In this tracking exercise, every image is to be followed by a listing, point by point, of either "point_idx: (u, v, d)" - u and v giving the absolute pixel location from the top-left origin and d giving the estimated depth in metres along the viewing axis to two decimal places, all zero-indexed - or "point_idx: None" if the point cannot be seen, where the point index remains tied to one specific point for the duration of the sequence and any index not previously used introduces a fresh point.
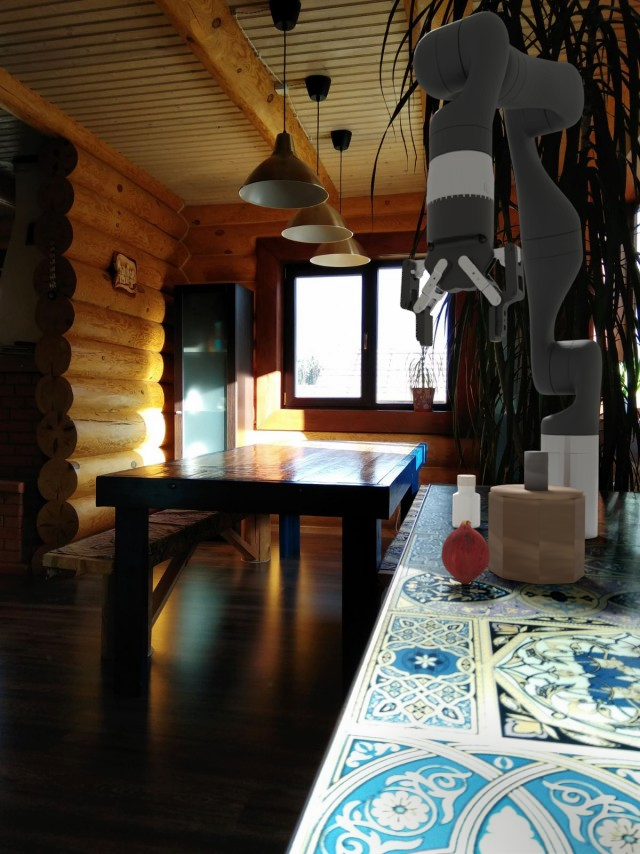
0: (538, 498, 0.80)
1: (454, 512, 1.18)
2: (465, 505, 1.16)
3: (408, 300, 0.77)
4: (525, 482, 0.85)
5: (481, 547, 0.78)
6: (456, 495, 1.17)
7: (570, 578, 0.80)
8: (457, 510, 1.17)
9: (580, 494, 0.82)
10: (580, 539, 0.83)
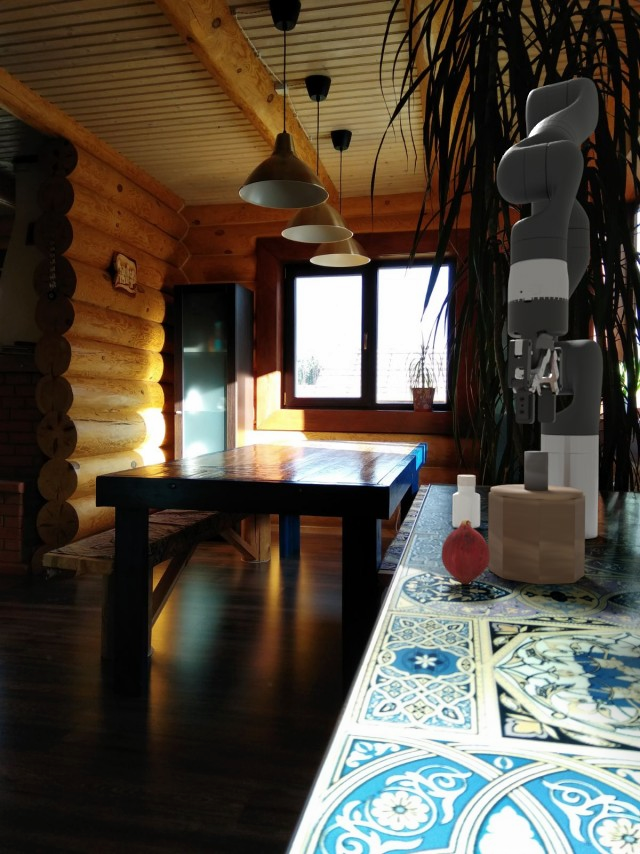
0: (538, 498, 0.80)
1: (454, 512, 1.18)
2: (465, 505, 1.16)
3: (529, 379, 0.80)
4: (525, 482, 0.85)
5: (481, 547, 0.78)
6: (456, 495, 1.17)
7: (570, 578, 0.80)
8: (457, 510, 1.17)
9: (580, 494, 0.82)
10: (580, 539, 0.83)
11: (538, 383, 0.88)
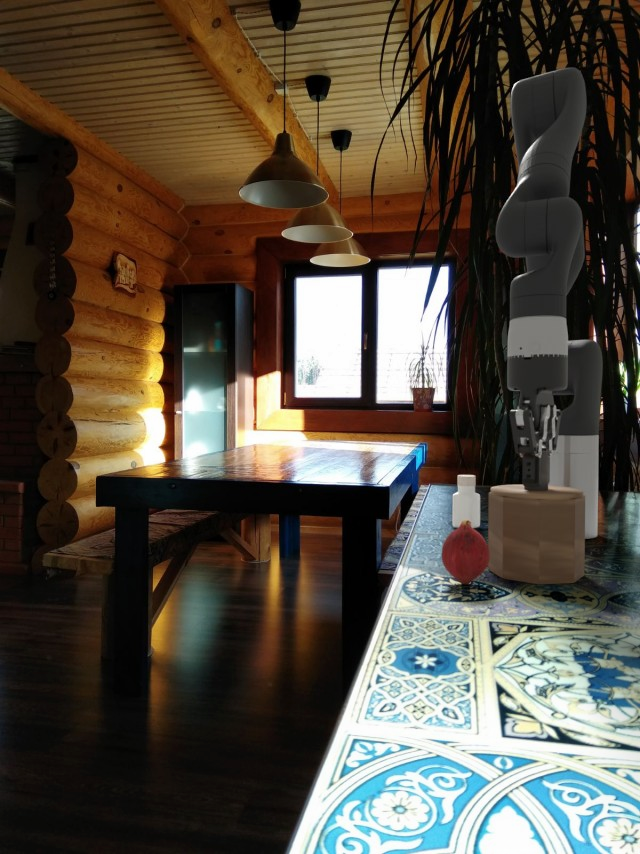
0: (538, 498, 0.80)
1: (454, 512, 1.18)
2: (465, 505, 1.16)
3: (536, 445, 0.82)
4: None
5: (481, 547, 0.78)
6: (456, 495, 1.17)
7: (570, 578, 0.80)
8: (457, 510, 1.17)
9: (580, 494, 0.82)
10: (580, 539, 0.83)
11: None
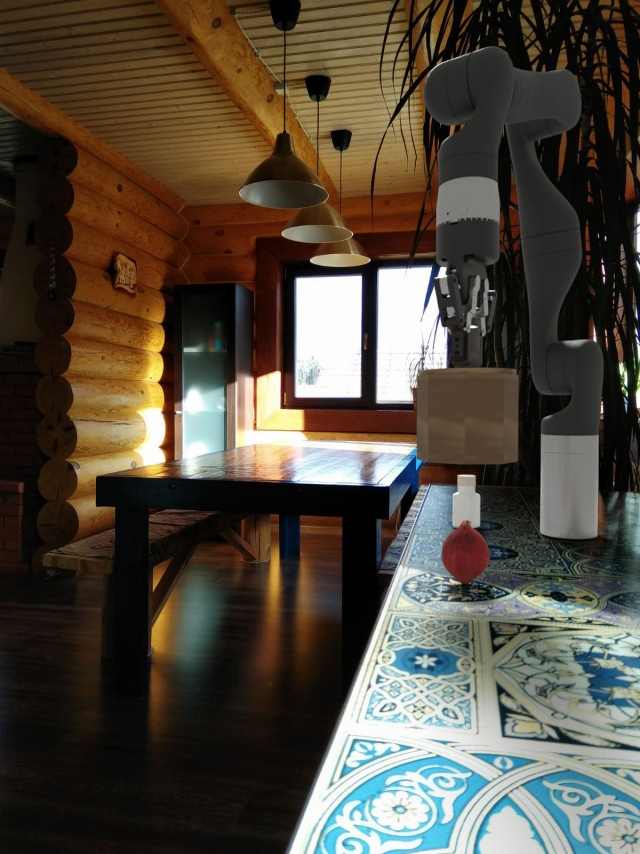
0: (464, 371, 0.74)
1: (454, 512, 1.18)
2: (465, 505, 1.16)
3: (463, 317, 0.76)
4: None
5: (481, 547, 0.78)
6: (456, 495, 1.17)
7: (499, 459, 0.74)
8: (457, 510, 1.17)
9: (511, 370, 0.75)
10: (512, 420, 0.76)
11: None
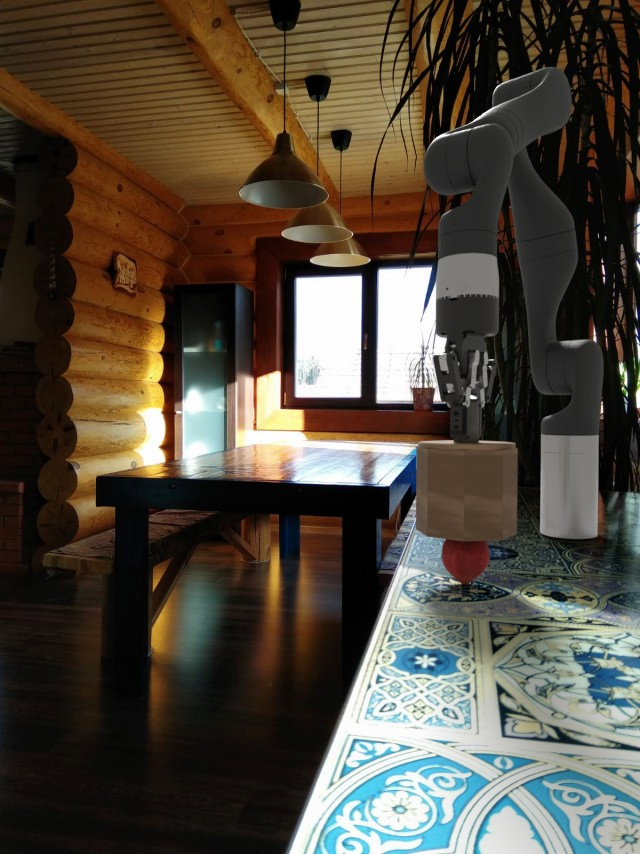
0: (463, 448, 0.74)
1: None
2: None
3: (463, 393, 0.76)
4: None
5: (481, 547, 0.78)
6: None
7: (498, 535, 0.75)
8: None
9: (510, 445, 0.76)
10: (511, 494, 0.77)
11: None
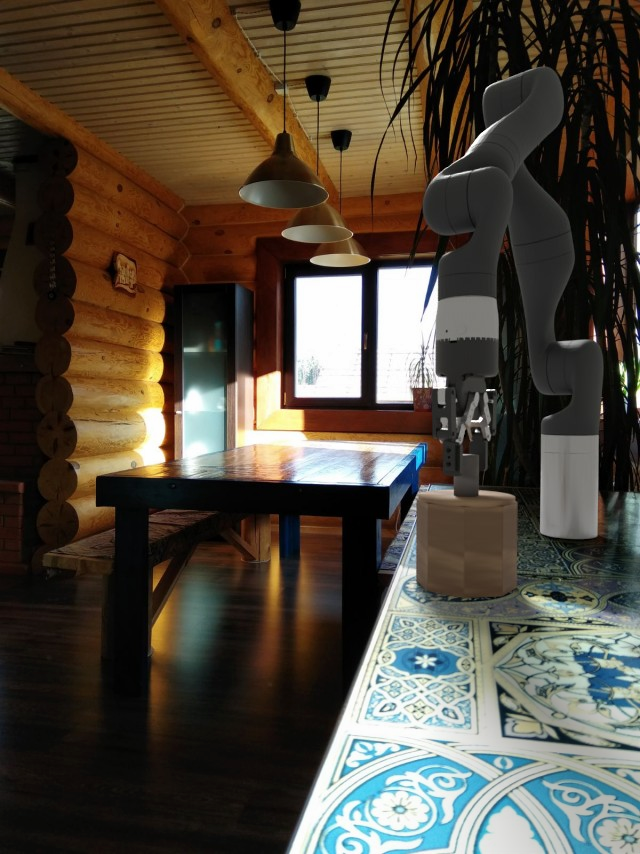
0: (463, 505, 0.74)
1: None
2: None
3: (455, 430, 0.74)
4: (454, 487, 0.80)
5: None
6: None
7: (498, 591, 0.75)
8: None
9: (510, 500, 0.76)
10: (511, 549, 0.77)
11: (469, 427, 0.82)
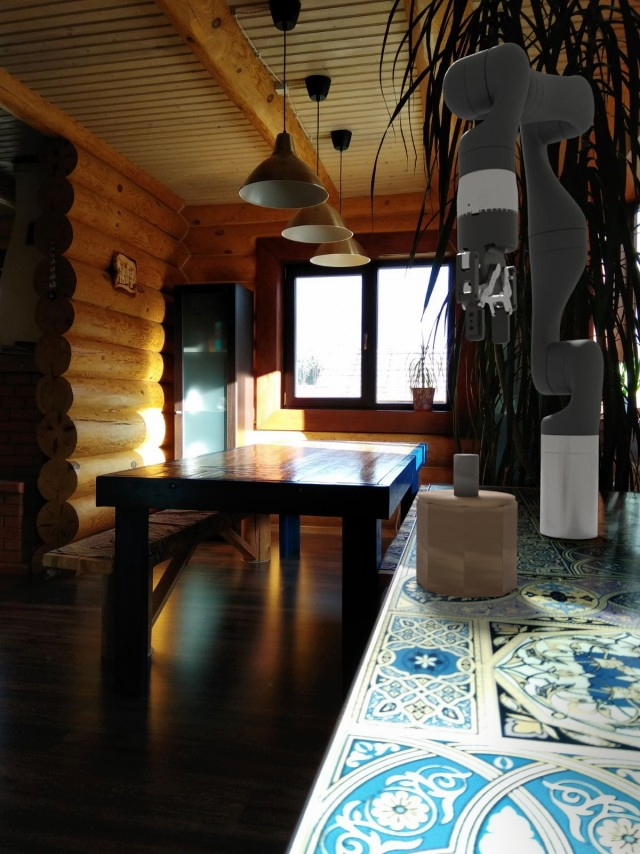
0: (463, 505, 0.74)
1: None
2: None
3: (477, 293, 0.78)
4: (454, 487, 0.80)
5: None
6: None
7: (498, 591, 0.75)
8: None
9: (510, 500, 0.76)
10: (511, 549, 0.77)
11: (491, 303, 0.86)
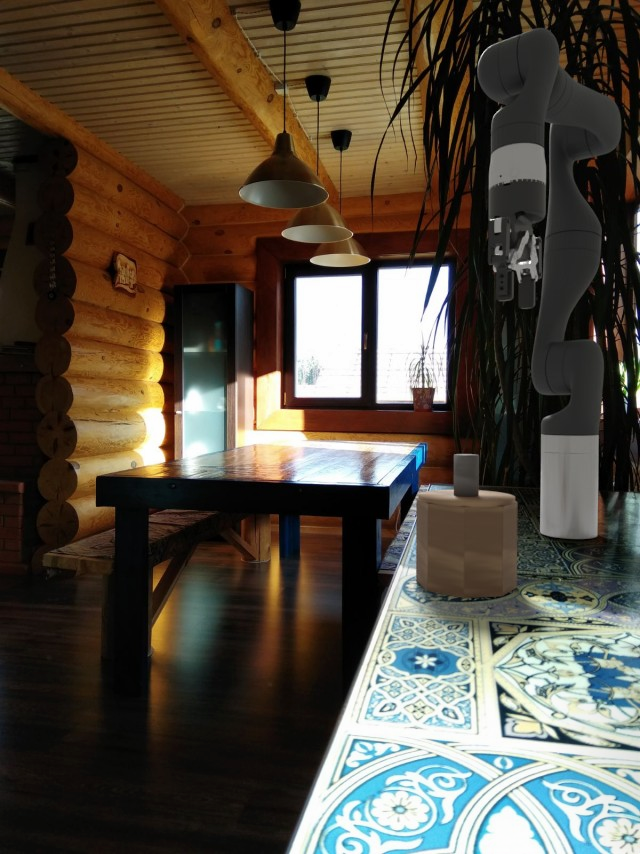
0: (463, 505, 0.74)
1: None
2: None
3: (508, 255, 0.84)
4: (454, 487, 0.80)
5: None
6: None
7: (498, 591, 0.75)
8: None
9: (510, 500, 0.76)
10: (511, 549, 0.77)
11: (518, 270, 0.92)
